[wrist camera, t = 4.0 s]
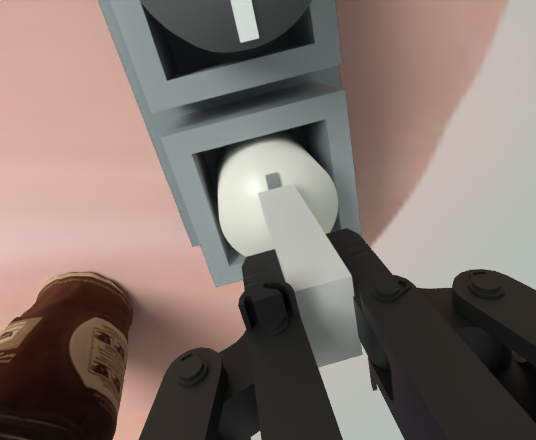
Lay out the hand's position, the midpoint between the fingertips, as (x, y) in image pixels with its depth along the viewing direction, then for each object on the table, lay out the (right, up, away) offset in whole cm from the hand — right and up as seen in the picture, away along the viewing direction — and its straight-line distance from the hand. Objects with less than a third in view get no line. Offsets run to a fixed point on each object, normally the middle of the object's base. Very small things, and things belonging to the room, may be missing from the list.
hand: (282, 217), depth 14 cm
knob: (-1, +3, +6) cm, 6 cm away
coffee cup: (-13, -6, +10) cm, 18 cm away
